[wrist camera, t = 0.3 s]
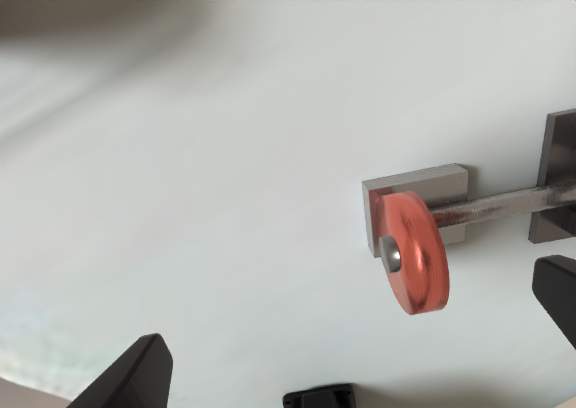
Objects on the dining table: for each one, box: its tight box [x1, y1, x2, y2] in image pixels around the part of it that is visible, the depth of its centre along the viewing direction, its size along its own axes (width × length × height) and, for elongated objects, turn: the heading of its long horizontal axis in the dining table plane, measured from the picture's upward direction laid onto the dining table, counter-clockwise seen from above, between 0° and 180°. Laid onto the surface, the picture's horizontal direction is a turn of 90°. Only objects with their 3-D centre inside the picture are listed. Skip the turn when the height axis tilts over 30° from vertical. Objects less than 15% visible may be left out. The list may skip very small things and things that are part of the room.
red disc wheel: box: [362, 164, 576, 315], centre depth 17 cm, size 6×18×8 cm, turn 101°
